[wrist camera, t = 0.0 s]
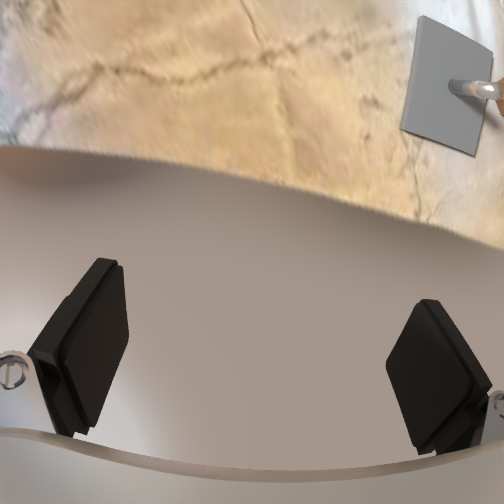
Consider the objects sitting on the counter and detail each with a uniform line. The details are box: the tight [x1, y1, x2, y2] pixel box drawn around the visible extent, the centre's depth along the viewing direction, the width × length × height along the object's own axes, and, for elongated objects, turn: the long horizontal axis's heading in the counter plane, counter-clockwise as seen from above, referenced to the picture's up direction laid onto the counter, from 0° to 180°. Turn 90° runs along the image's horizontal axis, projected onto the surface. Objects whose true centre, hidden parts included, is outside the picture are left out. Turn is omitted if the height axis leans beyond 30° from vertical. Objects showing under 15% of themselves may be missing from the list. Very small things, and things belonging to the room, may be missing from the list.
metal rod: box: [448, 79, 503, 100], centre depth 27 cm, size 2×2×9 cm
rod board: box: [399, 15, 493, 155], centre depth 32 cm, size 16×12×2 cm
